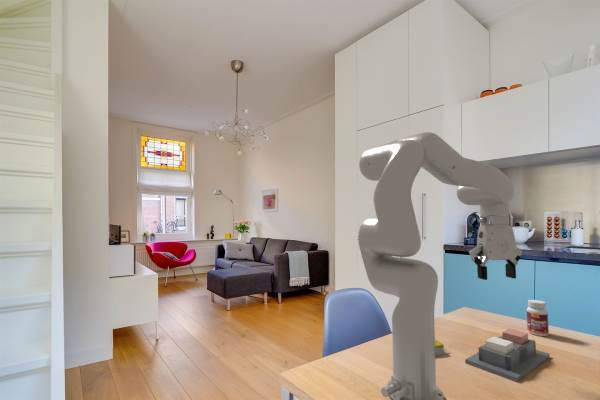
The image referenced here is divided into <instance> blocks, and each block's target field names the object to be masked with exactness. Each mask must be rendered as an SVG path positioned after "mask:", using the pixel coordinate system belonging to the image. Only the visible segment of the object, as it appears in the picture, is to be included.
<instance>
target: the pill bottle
mask: <svg viewBox="0 0 600 400" xmlns="http://www.w3.org/2000/svg"><path fill="white" fill-rule="evenodd" d="M527 306H528V307H527V308H526V328H527V333H528V334H531V335H534V336H539V337H547V336H549V335H550V333H549V312H548V310H547V309H546V308H547V304H546V302H545V301H544V300H540V299H528V300H527Z"/></svg>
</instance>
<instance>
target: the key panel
mask: <svg viewBox="0 0 600 400" xmlns="http://www.w3.org/2000/svg"><path fill="white" fill-rule="evenodd" d="M497 338H500V339H503V335H502V334H501V335H500V336H499V337H497ZM548 359H550V353H549V352H546V351H543V350H539V349H536V340H534V339H530V338H528V342H527V343H525V344H524V345H520V344H516V343H513V351H512V352H511V353H509V354H508V355H505V354H502V353H498V352H495V351H492V350H489V349H486V343H484V344H483V345H481V346H480V347H478V352H476V353H475V354H472V355H471V356H469V357H467V358H465V359H464V362H465V364H466V365H467V364H468V365H470V366H473V367H476V368H478V369H481V370H483V371H487V372H490V373H492V374H495V375H497V376H500V377H502V378H506V379H508V380H511V381H512V382H513V381H514V382H517V383H518V382H519V381H521V380H523V378H524V377H526V376H527V375H528V374H530V373H531V372H532V371H534V370H535V369H536V368H537V367H538V366H540V365H541V364H542V363H543V362H545V361H546V360H548Z"/></svg>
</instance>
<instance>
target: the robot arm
mask: <svg viewBox="0 0 600 400" xmlns="http://www.w3.org/2000/svg"><path fill="white" fill-rule="evenodd" d="M358 164H359V165H358V167H359V171H360V173H361V174H362V175H363V177H364V178H365V179H367V180H369V181H372V182H373V181H375V182H376V181H377V184H376V186H375V189H374V191H373V206H374V211H375V216H373V217H369V218H367V219H365V220H363V222H362V223H361V225H360V227H359V229H358V232H357V233H358V234H357V241H358V247H359V250H360V254H361V255H360V256H361V259H362V262H363V265H364V269H365V272H366V273H365V274H366V276H367V279H368V282H369V283H370V285H371V286H372V287H373V289H375V290H377V291H378V292H380V293H383V294H387V295H390V296H391V295H392V296H393V297H394V296H395V297H396V298H399V299H398V302H397V304H396V305H395V307H394V309H393V312H392V316H391V331H392V332H391V333H392V334H391V335H392V337H391V338H392V339H391V340H392V375H391V377H390V380H388V382H387V384H386V386H383V387H381V389H380V390H381V391H380V393H381V396H383V397H384V398H388V397H389V398H390V399H392V400H445V399H444V392H443V391H442V389H441V388H440V387H439V386H437V378H436V377H437V375H436V374H437V372H436V368H437V367H436V355H435V340H436V335H435V334H436V332H435V305H436V300H437V299H436V298H437V292H438V287H439V277H438V274H437V271H436V270H435V268H434V267H433V266H432V265H431V264H429V263H427V262H425V261H422V260H419V259H414V258H413V259H412V258H408V257H413V256H415V255H417V254H418V253H419V252H420V250H421V246H422V243H421V242H422V241H421V240H422V239H421V235H420V231H419V226H418V222H417V218H416V214H415V211H414V210H415V209H414V206H413V201H412V188H413V184H414V182H415V180H416V178H417V176H418V173H419V172H420V171H421V168H422V169H423V170H424V171H426V172H427V173H429V174H430V175H432V177H434V178H436V180H437V181H439V182H440V183H443V184H446V185H451V186H456V187H457V189H456V196H457V199H458V201H460V203H462V204H464V205H466V206H479V215H480V217H479V218H477V223H480V226H478V230H477V239H476V240H477V241H476V246H474V247H473V248H472V249H470V250H469V251H468V253H469V256H470V258H471V260H472V261H473V262H474V264H475V265H476V266H477V267H476V270H477V278H478V279H480V280H484V281H487V280H488V266H487V263H488V261H489V260H491V261H505V262H506V263H505V266H504V267H505V276H506V277H505V278H509V279H517V269H516V268H517V265H518V264H519V263H518V262H519V261H520V259H521V256H522V253H523V250H522V249H521V248H519V247H517V245H516V237H515V233H514V229H513V227H512V226H511V225H510V213H509V211H510V208H509V202H510V201H511V200H512V199H513V198H514V194H515V189H514V186H513V183H512V182H511V180H510V178H509V177H508V176H507V175H506V174H505V173H504V172H503V171H502V170H501V169H500V168H498V167H496V166H493V165H491V164H488V163H484V162H481V161H479V160H474V159H471V158H467V157H463V155H461V154H460V153H459V152H458V151H456V150H455V149H454V148H453V147H452V146H451V145H450V144H449V143H447V142H446V141H445V140H444V139H443V138H441V136H439V135H438V134H436V133H434V132H429V131H426V132H421V133H417V134H412V135H409V136H406V137H403V138H400V139H399V138H398V139H395V140H394V141H391V142H389V143H385V144H383V145H382V144H381V145H378V146H375V147H371V148H368V149H367V150H365V151H364V152H363V153H362V154H361V156H360V158H359V163H358Z"/></svg>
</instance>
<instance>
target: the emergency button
mask: <svg viewBox="0 0 600 400" xmlns="http://www.w3.org/2000/svg"><path fill="white" fill-rule="evenodd" d="M449 354H451V351H449V350H448V349H446V348H445V347H444V344H443V343H442V342H440V341H439V340H437V339H435V356H440V355H442V356H443V355H449Z"/></svg>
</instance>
